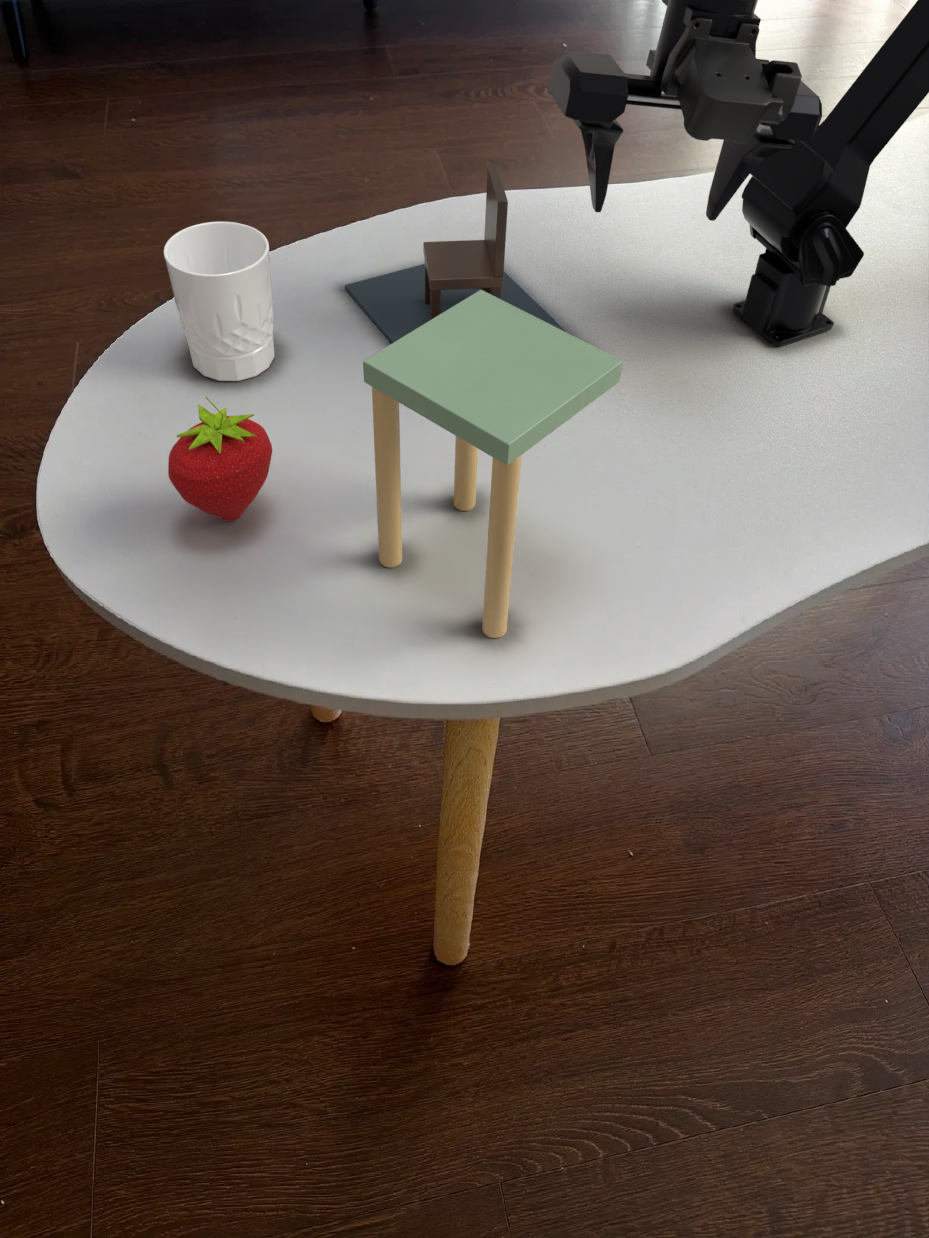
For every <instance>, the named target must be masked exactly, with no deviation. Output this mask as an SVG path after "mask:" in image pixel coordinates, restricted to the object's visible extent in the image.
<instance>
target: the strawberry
mask: <svg viewBox="0 0 929 1238" xmlns="http://www.w3.org/2000/svg"><path fill="white" fill-rule="evenodd" d="M205 398H206V400H207V401H208V402H209V403H210V404H211V405H212V406H213V407H214V409H216V410H217V411H216V412H215V413H212V412H211V411H210V410H208V409H206V408H205V407H204V406H202V405H201V404H198V405H197V409H198V418H199V420H200V421H201V422H199V423H197V424H195V425H193V426H192V427H190V428H189V429H188V430H185V431H183V432H180V433H179V434H176V438H177V439H178V440H177V441H176V442H175V443H174V445H173V446H172V448H171V449H170V452H169V455H168V462H167V463H168V467H167V468H168V469H167V473H168V479H169V481H170V482H171V484H172V485H173V487H174V488H175V490H176V491H177V493H178V494H179V495H180V497H181V499H182V500H184V502H185V503H187V504H189V505H191V506H193V507H195V508H196V509H198V510H200V511H202V512H203V513H206V514H208V515H211V516H214V517H217V518H219V519H221V520H223V521H225V522H234V521H237V520H238V519H239V518H241V517H242V515H244V513H245V511H246V510H247V509H248V508H249V506H250V505H251V504H252V503H253V501H254V500H255V499H256V497H257V495H258V494H259V492H260V490H261V489H262V487H263V486H264V484H265V482H266V481H267V478H268V476H269V472H270V467H271V466H270V465H271V461H272V457H273V445H272V442H271V440H270V437H269V434H268V432H267V431H266V429H265V428H264V426H262V425H261V424H260V423H258V422H257V421H255V420H252V419H251V418H253V417H254V416H255V414H254V413H249V414H240V415H238V414H237V415H228V414H227V407H224V408H222V409H219V408H218V407H217V405H215V403H214V402H213V401H212V400H211V399H210V398H209V397H208V396H207V395H206V396H205Z"/></svg>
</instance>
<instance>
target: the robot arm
mask: <svg viewBox="0 0 929 1238" xmlns="http://www.w3.org/2000/svg"><path fill="white" fill-rule="evenodd" d="M758 1H759V0H661V2H662V3H663V4H664V5H665V6H666V8H665V13H664V17H663V22H662V25H661V28H660V33H659V38H658V41H657V45H656V49H649V51H648V56H647V58H646V59H647V60H646V63H645V65H646V67H647V68H648V69H649V70H650V74H649V75H647V74H646V75H645V74H635V73H626V72H625V71H624V70H623V69H622V68H621V67H620V64H618V62H617V61H616V60H615V59H614V58H613V57H612V55H611V54H606V53H605V54H604V53H597V52H586V51H579V50H578V51H577V50H576V51H575V50H568V49H564V50H563V51H562V52H561V53H560V54H559V55H558V56H557V57H556V58H555V60H554V61H553V63H552V64H551V65H552V66H551V70H550V75H549V80H548V85H547V90H548V92H549V93H550V95H551V96H552V98H553V100H554V101H555V103H556V104H557V106H558V107H559V110H561V112H562V114H563V115H564V116H565V118H569V119H570V120H571V119H572V120H573V121H574V123H575V126H577V128H578V129H579V130H580V132H581V136H582V141H583V146H584V153H585V160H586V166H587V167H586V168H587V176H588V184H589V191H590V192H589V193H590V199H591V206H592V209H593V211H594V212H595V213H601V212H602V210H603V208H604V204H605V200H606V197H607V194H608V187H609V181H610V175H611V170H612V164H613V158H614V152H615V148H616V144H617V143H618V142H619V139H620V138H621V136H622V134H623V133H624V129H623V127H622V125H621V124H620V122H618V120H617V119H619V117H620V116H622V115H623V114H624V113H625V112H626V106H627V105H628V106H629V105H631V106H638V107H649V108H650V107H651V108H662V109H670V110H681V113H682V116H683V127H684V129H685V132H686V133H687V134H688V135H689V136H690V137H691V138H693V139H694V140H697V141H703V142H708V141H710V140H723V141H722V144H721V148H720V152H719V155H718V159H717V163H716V167H715V171H714V174H713V178H712V183H711V185H710V188H709V192H708V196H707V197H708V199H707V204H706V211H705V216H706V218H707V219H708V221H710V222H711V221H712V222H714V221H716V220H717V219H718V217H719V216H720V214H721V213H722V212H723V210H724V209H725V208H726V206H727V205H728V204H729V202H730V201H731V199H732V198H733V197H734V196H735V194H736V193H737V191H738V190H739V189H740V187H741V186H742V184H743V183H744V182H745V181H746V180H747V178H748V177H749V176H750V175H751V177H750V178H749V180H748V182H747V183H746V185H745V186H744V189H743V190H742V194H741V199H742V205H741V206H742V207H741V213H742V215H743V219H744V220H745V221H746V222H747V223H748V224H749V233H750V234H749V235H750V236H751V237H752V239H754V240H757V241H758V242H759V243H760V244H761V245H762V246H763V247H764V248H765V251H764V253H760V254H759V255H758V258H757V262H756V266H755V271H754V273H753V274H751V276H750V281H749V284H748V288H747V293H746V296H745V300H742V301H739V302H735V303H734V304H733V305H732V309H731V310H732V312H733V313H734V314H735V315H737V317H739V318H741V319H742V320H743V321H744V322H745V323H747V324H748V325H749V326H750V327H751V328H753V329H754V330H755V331H756V332H758V333H759V334H760V335H762V337H764V338H765V339H766V340H767V341H769V342H770V344H772V345H774V346H776V347H782V346H786V345H788V344H791V343H794V342H797V341H800V340H804V339H806V338H809V337H812V336H815V335H818V334H821V333H824V332H826V331H831V329H833V327H834V325H835V324H834V321H833V320H832V319H830V318H829V317H828V316H827V315H825V314H824V313H823V312H824V310H825V307H826V303H827V300H828V297H829V293H830V290H831V287H833V286H836V285H837V282H838V281H840V280H841V279H846V278H850V277H852V275H853V274H854V273H855V270H856V269H857V267H858V266H859V264H860V262H861V261H862V260H863V258H864V256H865V253H864V251H863V249H862V248H861V247H860V246H859V244H858V242H857V241H856V240H855V238H853V236H852V235H851V234H850V232H849V231H848V229H847V227H848V226H849V224H850V223H851V221H852V220H853V218H854V217H855V215H856V214H857V212H858V211H859V209H860V208H861V206H862V201H863V197H864V194H865V189H866V185H867V180H868V176H869V172H870V168H871V165H872V164H873V162H874V161H875V160H876V159H877V157H878V156H879V154H880V153H881V152H882V151H883V149H884V148H885V147H886V146H887V145H888V144H889V142H890V141H891V140H892V139H893V137H894V136H895V135H896V133H898V131H899V130H900V129H901V127H902V126H903V125H904V124H905V122H906V121H907V120H908V119H909V118H910V116H911V115H912V114H913V113H914V112H915V111H916V109H917V108H918V107H919V105H920V104H921V103H922V102H923V101H924V99H925V98H926V97H927V96H928V94H929V0H917V1H915V3H914V4H913V6H912V7H911V8H910V9H909V11H908V12H907V13H906V15H905V16H904V17H903V18H902V20H901V21H900V22H899V23H898V25H897V26H896V27H895V29H894V30H893V31H892V33H891V34H890V35H889V36H888V38H887V39H886V40H885V42H884V43H883V44H882V45H881V47H880V48H879V49H878V50H877V52H875V54H874V56H873V57H872V58H871V59H870V61H869V62H868V64H867V65H866V66H865V67H864V69H862V71H861V72H860V74H859V75H858V76H857V77H856V79H855V80H854V81H853V82H852V84H851V85H850V87H849V88H848V89H847V90H846V92H845V93H844V94H843V96H842V97H841V98H840V99H839V101H838V102H837V103H836V105H835V106H834V107H833V108H832V110H831V111H830V113H828V115H827V116H826V118H825V119H824V120H823V121H822V118H823V104H822V101H821V99H820V96H819V95H818V94H817V93H816V92H814V91H813V90H812V89H811V87H809V86H808V85H807V84H806V83H805V82H804V81H802V78H803V75H802V73H801V70H800V67H799V64H798V63H797V62H794V61H787V60H786V61H785V60H775V59H773V60H769V59H763V58H757V57H756V56H757V40H758V37H759V34H760V24H761V20H762V19H761V18H760V17H759V15H757V13H755V11H756V7H757V4H758ZM821 121H822V122H821Z"/></svg>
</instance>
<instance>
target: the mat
mask: <svg viewBox="0 0 929 1238" xmlns="http://www.w3.org/2000/svg"><path fill="white" fill-rule="evenodd" d="M344 290H345V291H346V292H347V293H348V294H349V295H350V297H351V298H352V299H353V300H354V301H355V302H356V304H357V305H358V306H359V307H360V309H362V310H363V312H364V313H365V314H366V316H368V317H369V319H370V320H371V321H372V322H373V324H375V326H376V327H377V328H378V329H379V331H380V332H381V333H382V334H383V336H385V338H386V339H387V340H388V341H389V343H390V344H392V343H394V342H395V341H397V340H399V339H400V338H402V337H404V336H405V335H407V334H409V333H410V332H412V331H413V330H415V329H417V328H418V327H420V326H422V325H423V324H425V323H427V322H428V321H430V304H425V263H423V264H419V265H415V266H412V267H409V268H408V267H407V268H403V269H400V270H396V271H393V272H388V273H384V274H382V275H377V276H372V277H370V278H366V279H363V280H359V281H358V280H357V281H354V282H351V283H347V284H344ZM479 290H481V289H456V290H441V313H443V312H445V311H446V310H448V309H450V308H451V307H453V306H455V305H456V304H458V303H460V302H461V301H463V300H465V299H466V298H468V297H470V296H471V295H473V294H474V293H476V292H478V291H479ZM501 300H503V301H505V302H507V303H509V304H511V305H513V306H515V307H517V308H519V309H521V310H523V311H525V312H527V313H529V314H531V315H533V316H535V317H537V318H539V319H541V320H543V321H545V322H547V323H549V324H550V325H552V326H554V327H556V328H558V329H560V330H562V331H564V332H566V333H568V331H567V330H565V328H564V327H562V326H561V325H560V324H559V323H558V322H557V321H556V320H555V319H554V318H553V316H551V315H550V314H549V313H548V312H547V311H546V310H545V309H544V308H543V307H542V306H541V305H539V303H538V302H536V300H535V299H533V298H532V297H531V295H529V294H528V293H527V291H525V290H524V288H522V287H521V286H520V285H519V284H518V283H517V282H516V281H515V280H514V279H513V278H512V277H511V276H510V275H509V274H508V273H506V272H505V271H504V275H503V287H502V288H501Z"/></svg>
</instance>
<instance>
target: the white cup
mask: <svg viewBox="0 0 929 1238" xmlns="http://www.w3.org/2000/svg"><path fill="white" fill-rule="evenodd" d="M163 257H164V261H165V265H166V270H167V273H168V277H169V280H170V285H171V289H172V294H173V298H174V302H175V307H176V309H177V311H178V312H177V313H178V316H179V320H180V325H181V327H182V328H181V329H182V331H183V335H184V337H185V338H186V341H187V345H188V350H189V352H190V357H191V362H192V365H193V368H195V369H196V370H197V371H198V372H199V373H200V374H201V375H202V376H204V377H207V378H210V379H212V380H215V381H219V382H240V381H244V380H247V379H250V378H255V377H257V376H258V375H260V374H262V373H263V372H264V371H266V370H268V369H269V368H270V366H271V364H272V362H273V360H274V359H275V345H274V331H273V329H274V301H273V300H274V299H273V287H272V271H271V257H270V243H269V240H268V238H267V237H266V235H264V233H262V231H260V230H258V229H257V228H255V227H253V226H250V225H247V224H244V223H241V222H240V223H239V222H233V221H208V222H202V223H198V224H194V225H190V226H188V227H185V228H183V229H181V230H179V231H178V232H176V233H174V234H173V235H172V236H171V237H170V238H168V240H167V241H166V243H165V245H164V247H163Z"/></svg>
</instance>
